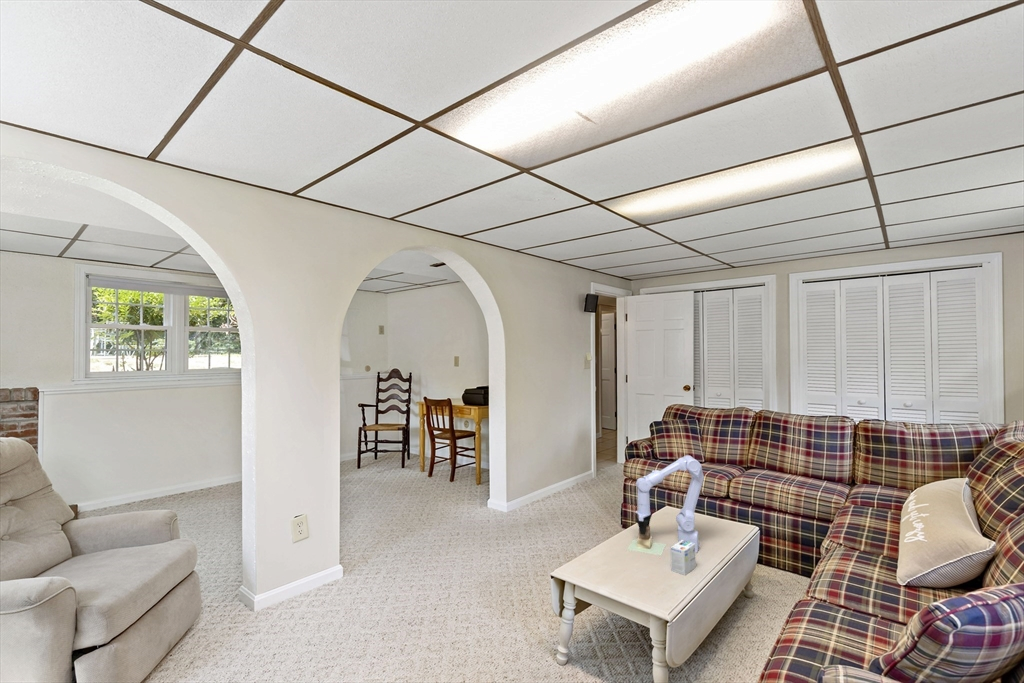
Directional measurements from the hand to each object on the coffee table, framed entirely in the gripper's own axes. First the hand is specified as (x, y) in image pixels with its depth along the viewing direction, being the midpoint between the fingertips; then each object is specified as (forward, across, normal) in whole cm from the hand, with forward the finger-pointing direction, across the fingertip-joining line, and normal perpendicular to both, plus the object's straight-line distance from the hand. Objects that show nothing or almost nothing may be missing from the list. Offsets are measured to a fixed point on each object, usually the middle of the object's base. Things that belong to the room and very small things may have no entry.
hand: (644, 531), depth 233 cm
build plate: (+8, +1, +1) cm, 8 cm away
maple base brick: (+7, 0, 0) cm, 7 cm away
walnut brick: (+3, 0, 0) cm, 3 cm away
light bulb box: (+8, +16, +20) cm, 27 cm away
